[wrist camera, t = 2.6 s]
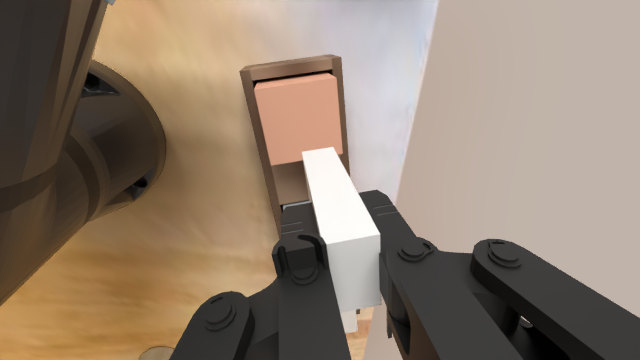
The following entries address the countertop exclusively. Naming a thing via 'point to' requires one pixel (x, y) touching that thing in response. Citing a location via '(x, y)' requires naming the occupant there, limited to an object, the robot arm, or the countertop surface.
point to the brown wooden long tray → (282, 178)
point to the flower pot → (157, 354)
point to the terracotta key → (299, 115)
